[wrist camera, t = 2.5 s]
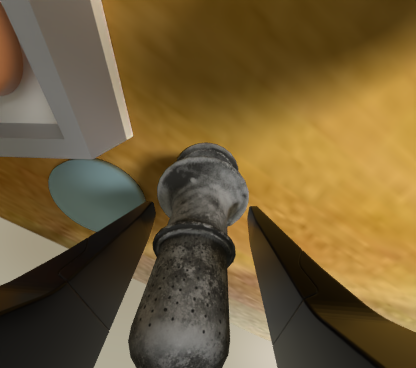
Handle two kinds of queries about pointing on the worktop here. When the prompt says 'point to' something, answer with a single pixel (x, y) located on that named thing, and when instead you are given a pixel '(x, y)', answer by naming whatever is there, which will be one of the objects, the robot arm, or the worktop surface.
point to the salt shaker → (191, 264)
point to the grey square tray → (63, 83)
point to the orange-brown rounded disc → (9, 56)
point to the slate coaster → (93, 192)
